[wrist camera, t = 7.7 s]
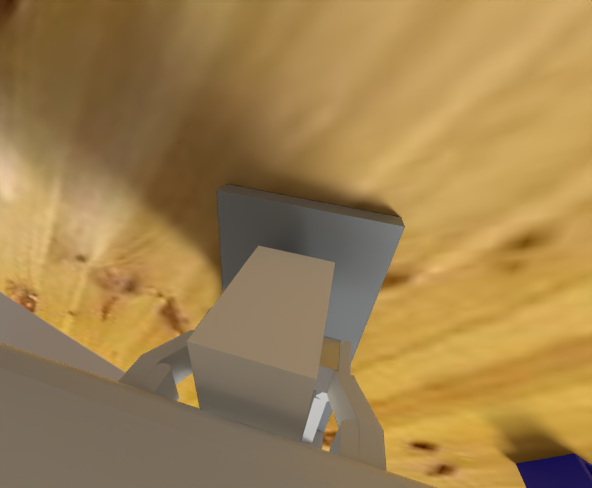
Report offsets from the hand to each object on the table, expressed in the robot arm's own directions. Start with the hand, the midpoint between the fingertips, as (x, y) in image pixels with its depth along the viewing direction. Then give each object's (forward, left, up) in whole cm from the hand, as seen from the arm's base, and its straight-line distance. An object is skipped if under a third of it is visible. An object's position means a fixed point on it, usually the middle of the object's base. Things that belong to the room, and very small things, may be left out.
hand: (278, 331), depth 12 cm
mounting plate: (+7, 0, -5) cm, 8 cm away
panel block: (0, 0, -2) cm, 2 cm away
